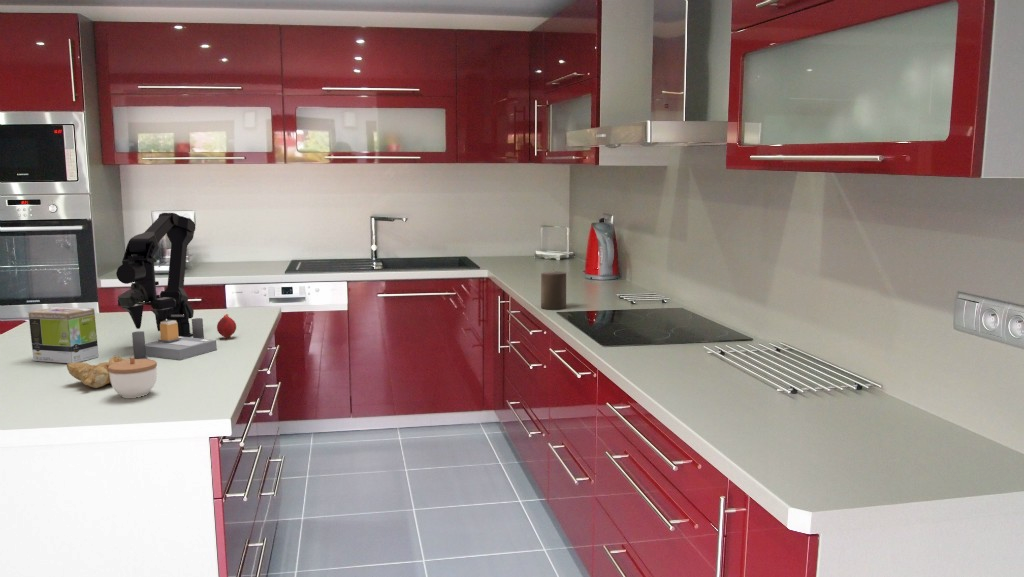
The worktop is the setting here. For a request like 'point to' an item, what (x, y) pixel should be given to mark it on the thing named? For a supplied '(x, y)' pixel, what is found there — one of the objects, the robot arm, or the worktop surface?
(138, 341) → the cable post
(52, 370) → the worktop surface
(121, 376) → the lidded jar
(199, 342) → the panel
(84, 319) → the tea box
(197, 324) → the cable post
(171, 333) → the block
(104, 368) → the ginger root
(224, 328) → the onion
